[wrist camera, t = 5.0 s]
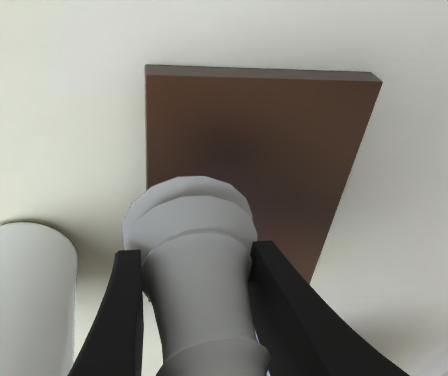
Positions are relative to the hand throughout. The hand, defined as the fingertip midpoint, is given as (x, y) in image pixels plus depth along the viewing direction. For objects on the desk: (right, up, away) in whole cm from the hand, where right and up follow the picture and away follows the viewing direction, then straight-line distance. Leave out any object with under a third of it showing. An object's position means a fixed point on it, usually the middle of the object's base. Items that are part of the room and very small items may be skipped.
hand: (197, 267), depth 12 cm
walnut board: (+2, +2, +11) cm, 11 cm away
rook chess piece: (0, +1, +2) cm, 2 cm away
